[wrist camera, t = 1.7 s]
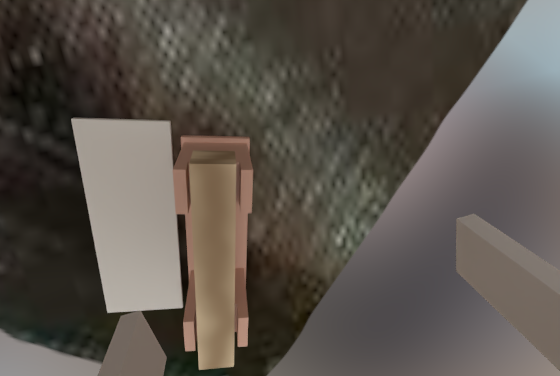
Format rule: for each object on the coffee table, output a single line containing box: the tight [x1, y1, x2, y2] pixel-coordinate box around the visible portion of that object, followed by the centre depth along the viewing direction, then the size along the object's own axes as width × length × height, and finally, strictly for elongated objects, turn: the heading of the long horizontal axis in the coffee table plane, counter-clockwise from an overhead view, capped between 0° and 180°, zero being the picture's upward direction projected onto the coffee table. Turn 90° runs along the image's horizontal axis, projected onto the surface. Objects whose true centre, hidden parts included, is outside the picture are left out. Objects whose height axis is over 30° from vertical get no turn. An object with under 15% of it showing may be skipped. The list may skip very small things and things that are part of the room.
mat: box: [71, 118, 183, 313], centre depth 36 cm, size 9×24×1 cm, turn 176°
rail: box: [189, 150, 236, 370], centre depth 30 cm, size 4×22×4 cm, turn 176°
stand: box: [173, 135, 253, 351], centre depth 34 cm, size 7×21×9 cm, turn 176°
